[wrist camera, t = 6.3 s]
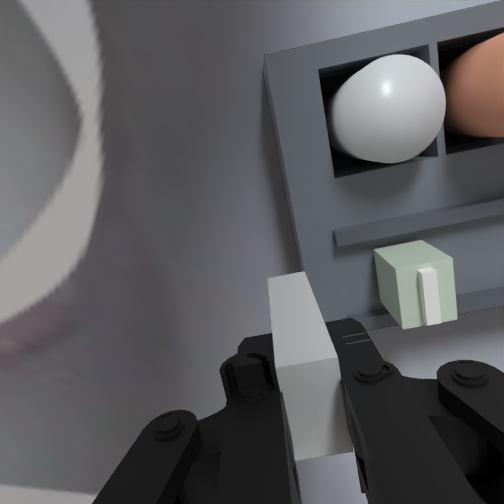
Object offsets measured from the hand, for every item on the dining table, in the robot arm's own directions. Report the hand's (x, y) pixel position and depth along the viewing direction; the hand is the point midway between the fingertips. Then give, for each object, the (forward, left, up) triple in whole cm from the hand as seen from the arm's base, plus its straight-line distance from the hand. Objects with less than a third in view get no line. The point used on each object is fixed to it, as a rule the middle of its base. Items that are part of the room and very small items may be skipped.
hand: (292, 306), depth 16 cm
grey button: (-7, +5, -4) cm, 9 cm away
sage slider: (0, +5, -2) cm, 5 cm away
